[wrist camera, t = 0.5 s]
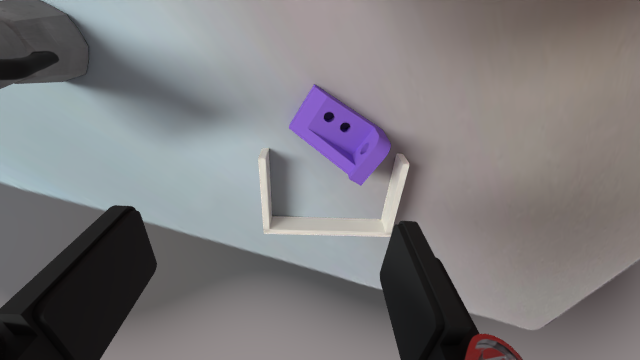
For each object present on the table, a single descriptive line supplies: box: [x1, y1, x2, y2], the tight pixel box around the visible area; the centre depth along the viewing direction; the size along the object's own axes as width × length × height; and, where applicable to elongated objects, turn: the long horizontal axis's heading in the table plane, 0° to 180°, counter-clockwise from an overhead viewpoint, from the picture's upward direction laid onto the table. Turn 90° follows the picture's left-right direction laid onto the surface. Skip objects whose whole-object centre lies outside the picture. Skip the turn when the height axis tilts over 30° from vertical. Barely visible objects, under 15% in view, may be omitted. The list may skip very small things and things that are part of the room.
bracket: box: [289, 84, 391, 185], centre depth 36 cm, size 12×7×7 cm, turn 57°
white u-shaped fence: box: [258, 148, 410, 237], centre depth 43 cm, size 14×22×4 cm, turn 86°
